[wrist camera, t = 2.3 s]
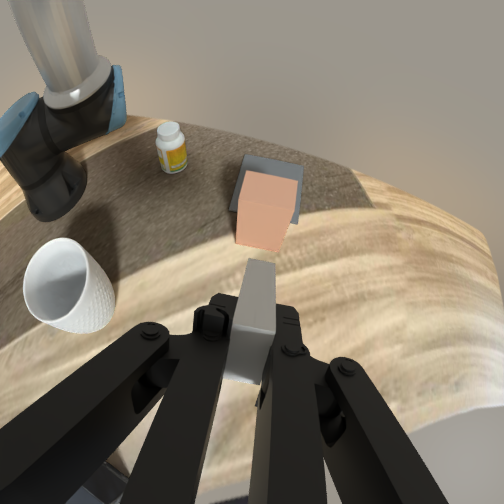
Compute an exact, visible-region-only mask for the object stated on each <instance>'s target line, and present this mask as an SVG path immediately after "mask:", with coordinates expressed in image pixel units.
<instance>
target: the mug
mask: <svg viewBox="0 0 504 504" xmlns="http://www.w3.org/2000/svg"><path fill="white" fill-rule="evenodd" d="M23 293H24V299H25V302H26V305H27V307H28V309H29V311H30V312H31V313H32V315H33V316H34V317H36V318H37V319H38V320H40V321H42V322H44V323H46V324H48V325H51V326H53V327H55V328H59V329H61V330H64V331H69V332H71V333H72V332H74V333H80V334H82V333H92V332H96V331H98V330H100V329H102V328H103V327H104V326H106V325H107V323H108V322H109V321H110V320H111V318H112V316H113V313H114V309H115V295H114V291H113V287H112V285H111V282H110V280H109V278H108V277H107V274H106V273H105V272H104V270H103V269H102V268H101V267H100V265H99V264H98V263H97V262H96V261H95V260H94V259H93V257H92V256H90V254H89V253H88V252H87V251H86V250H85V249H84V248H83V247H82V246H81V245H80V244H79V243H78V242H76V241H74V240H72V239H69V238H57V239H54V240H51V241H49V242H47V243H46V244H44V245H43V246H42V247H41V248H40V249H39V250H38V251H37V252H36V253H35V254H34V256H33V257H32V259H31V261H30V262H29V264H28V267H27V269H26V272H25V276H24V283H23Z"/></svg>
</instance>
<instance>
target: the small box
mask: <svg viewBox="0 0 504 504" xmlns="http://www.w3.org/2000/svg"><path fill="white" fill-rule="evenodd" d="M128 480H129V479H128V478H127V477H126V476H124V475H123V474H122V473H120V472H119V471H118V470H117V469H115V468H114V467H113V466H112V465H110V464H109V463H108V462H106V461H105V462H104V463H103V464H102V465H101V466H100V467H99V468H98V469H97V470H96V471H95V473H94V474H93V475H92V476H91V477H90V478H89V479H88V480H87V481H86V482H85V483H84V484H83V485H82V486H81V487H80V489H79V490H78V491H77V492H76V493H75V494H74V495H73V496H72V497H71V498H70V499H69V500H68V501H67V502H66V503H65V504H119V503H120V501H121V498H122V495H123V493H124V490H125V488H126V485H127V483H128Z"/></svg>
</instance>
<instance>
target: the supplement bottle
mask: <svg viewBox="0 0 504 504" xmlns="http://www.w3.org/2000/svg"><path fill="white" fill-rule="evenodd" d="M157 134H158V137H157V139H156V148H157V152H158V156H159V160H160V164H161V168H162V170H163V171H164V172H166V173H170V174H174V173H178V172H180V171H182V170H183V169H185V167H186V166H187V154H186V146H185V138H184V135H183V133H182V132H180V127H179V124H178V123H176V122H166V123H163V124H161V125H160V126H159V127H158V129H157Z"/></svg>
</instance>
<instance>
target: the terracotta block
mask: <svg viewBox="0 0 504 504" xmlns="http://www.w3.org/2000/svg"><path fill="white" fill-rule="evenodd" d="M297 185H298V181H296V180H292V179H287V178H283V177H278V176H273V175H268V174H263V173H258V172H253V171H247V170H246V174H245V177H244V181H243V184H242V188H241V192H240V195H239V199H238V215H237V231H236V244H239V245H244V246H249V247H254V248H259V249H264V250H269V251H274V252H279V250H280V247H281V245H282V242H283V240H284V237H285V234H286V232H287V229H288V227H289V224H290V221H291V219H292V216H293V213H294V211H295V202H296V194H297Z"/></svg>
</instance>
